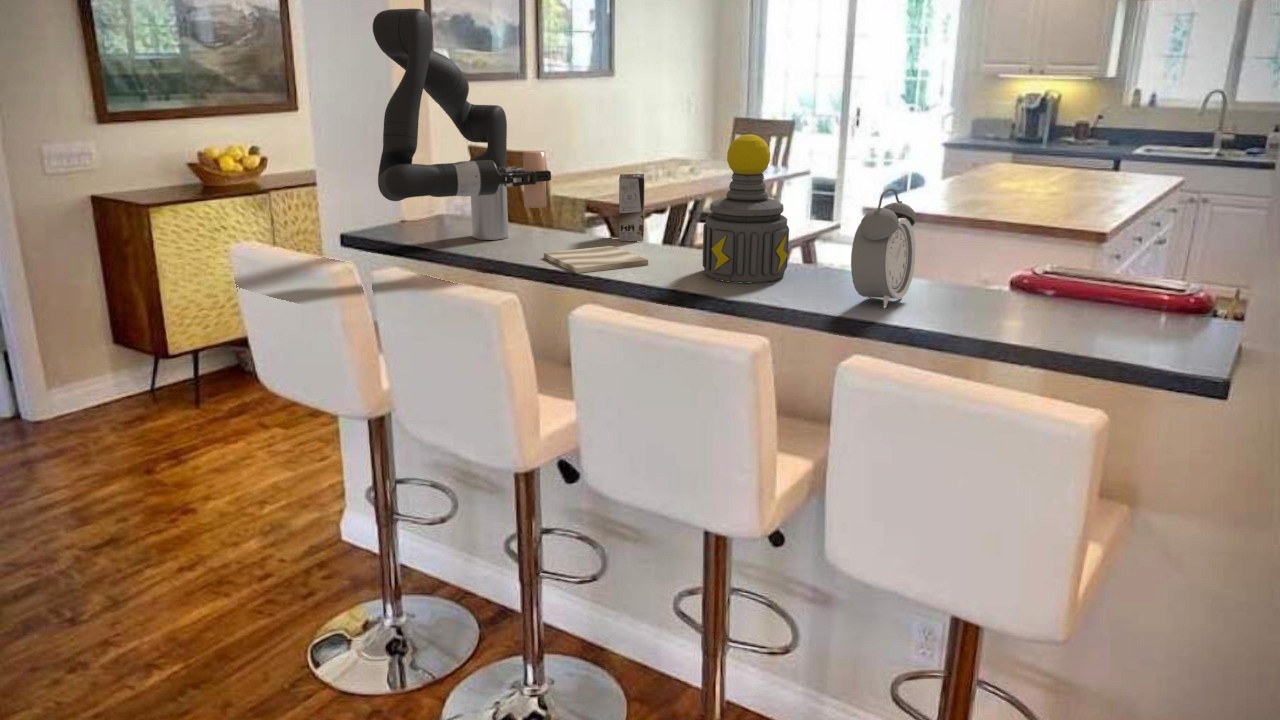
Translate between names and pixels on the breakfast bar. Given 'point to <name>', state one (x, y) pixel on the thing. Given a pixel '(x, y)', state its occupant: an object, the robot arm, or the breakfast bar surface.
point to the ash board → (595, 259)
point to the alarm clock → (884, 251)
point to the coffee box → (631, 207)
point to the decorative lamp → (746, 221)
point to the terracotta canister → (536, 192)
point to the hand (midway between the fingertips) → (545, 174)
